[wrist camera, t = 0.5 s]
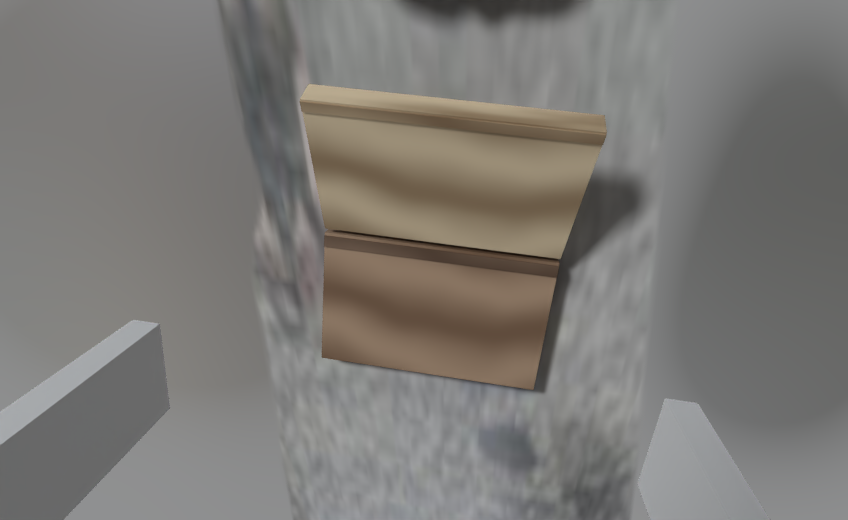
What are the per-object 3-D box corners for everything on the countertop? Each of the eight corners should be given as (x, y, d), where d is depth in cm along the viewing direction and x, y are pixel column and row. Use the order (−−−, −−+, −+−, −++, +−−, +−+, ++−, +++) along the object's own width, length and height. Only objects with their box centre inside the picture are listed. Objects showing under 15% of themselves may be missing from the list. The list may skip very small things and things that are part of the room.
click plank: (308, 84, 27) (299, 100, 26) (604, 115, 26) (607, 133, 25) (331, 212, 35) (324, 229, 34) (560, 242, 34) (560, 260, 33)
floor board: (331, 226, 36) (324, 232, 34) (556, 255, 34) (559, 263, 33) (328, 346, 39) (321, 358, 37) (531, 377, 38) (533, 390, 36)
